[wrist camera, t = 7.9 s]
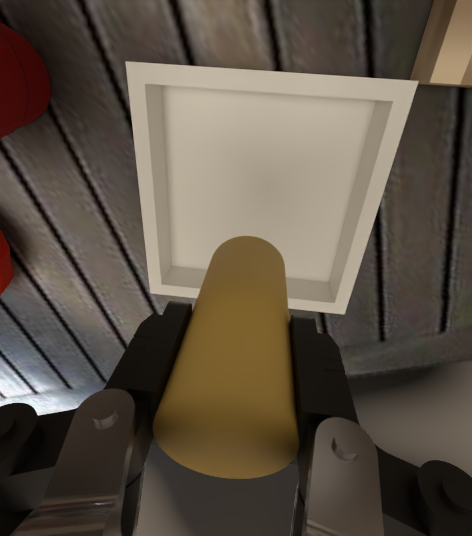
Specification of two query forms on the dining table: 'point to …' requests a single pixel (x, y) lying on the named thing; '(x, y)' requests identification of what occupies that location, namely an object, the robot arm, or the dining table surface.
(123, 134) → the dining table surface
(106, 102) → the dining table surface
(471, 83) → the socket block
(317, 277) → the tray
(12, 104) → the plastic cup
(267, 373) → the dowel
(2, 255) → the tomato
